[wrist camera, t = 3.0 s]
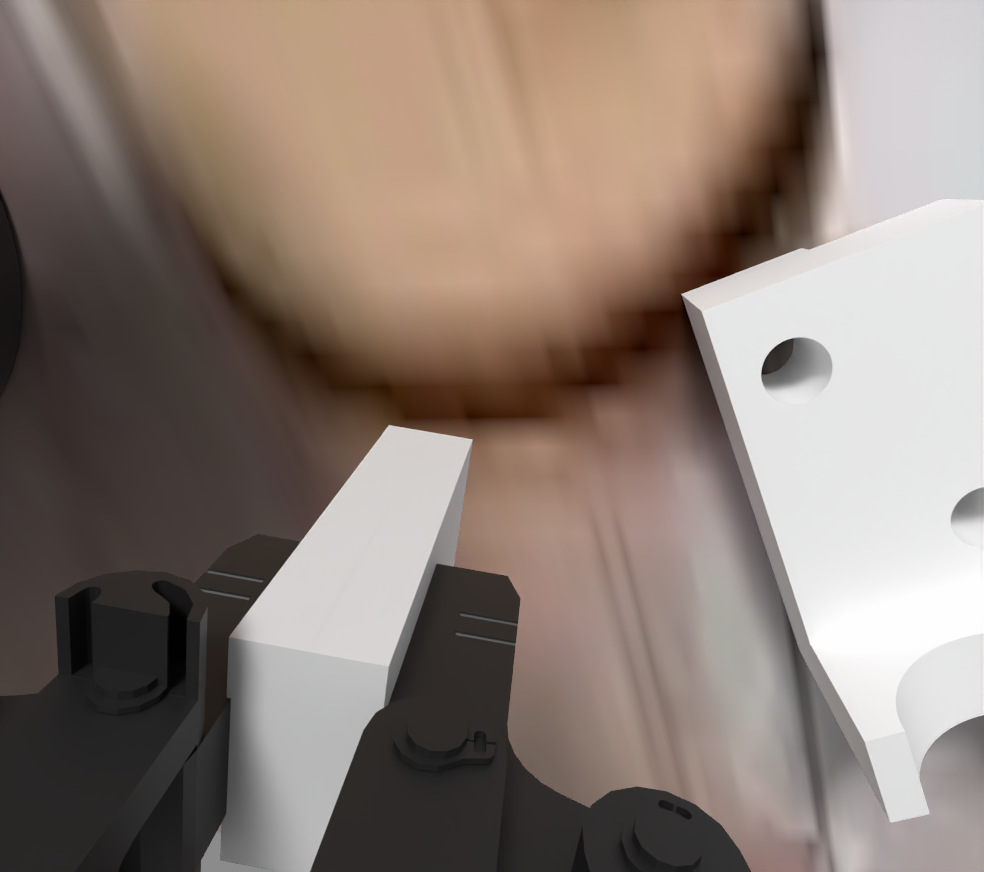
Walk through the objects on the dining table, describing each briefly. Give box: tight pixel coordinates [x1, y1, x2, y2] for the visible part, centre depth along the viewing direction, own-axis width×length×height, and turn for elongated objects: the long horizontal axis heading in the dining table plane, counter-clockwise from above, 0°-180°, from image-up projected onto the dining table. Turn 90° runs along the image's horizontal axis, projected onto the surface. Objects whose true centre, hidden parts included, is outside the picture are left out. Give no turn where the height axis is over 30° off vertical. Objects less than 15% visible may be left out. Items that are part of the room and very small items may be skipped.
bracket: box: [681, 199, 984, 823], centre depth 20 cm, size 13×7×8 cm, turn 22°
